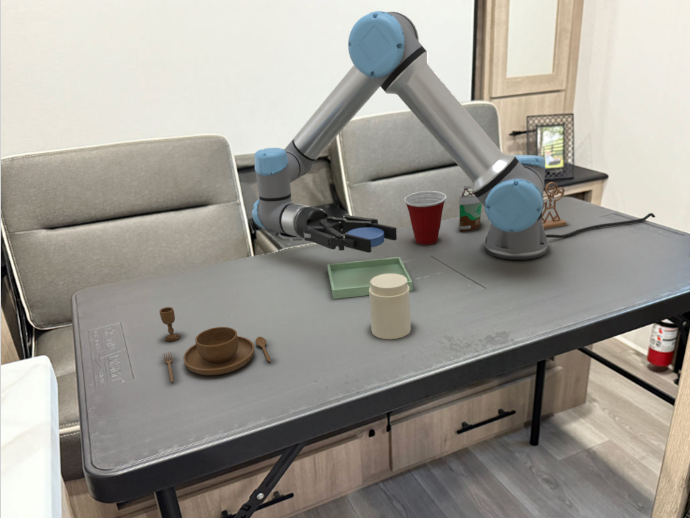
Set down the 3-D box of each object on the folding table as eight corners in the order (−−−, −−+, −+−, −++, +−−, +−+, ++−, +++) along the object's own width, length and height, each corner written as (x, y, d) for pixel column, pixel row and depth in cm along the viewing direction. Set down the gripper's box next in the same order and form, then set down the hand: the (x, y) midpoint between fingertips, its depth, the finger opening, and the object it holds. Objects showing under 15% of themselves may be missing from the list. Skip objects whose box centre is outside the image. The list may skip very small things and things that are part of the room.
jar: (406, 318, 117) (405, 270, 113) (414, 336, 110) (413, 286, 106) (369, 323, 116) (365, 274, 112) (374, 341, 109) (371, 290, 105)
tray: (400, 265, 142) (399, 256, 141) (412, 290, 129) (412, 281, 128) (328, 272, 140) (327, 264, 139) (333, 299, 126) (332, 290, 126)
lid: (339, 244, 129) (338, 236, 129) (360, 233, 136) (359, 225, 135) (371, 250, 125) (370, 241, 125) (391, 238, 132) (391, 230, 131)
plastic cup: (396, 242, 157) (394, 197, 152) (423, 231, 164) (422, 188, 159) (428, 251, 150) (427, 204, 145) (455, 240, 157) (455, 194, 152)
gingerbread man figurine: (538, 230, 162) (541, 186, 156) (530, 226, 165) (533, 182, 160) (566, 225, 164) (570, 181, 159) (558, 221, 168) (561, 178, 163)
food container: (482, 234, 160) (483, 197, 156) (459, 233, 161) (459, 197, 157) (485, 220, 171) (486, 185, 167) (463, 219, 172) (464, 185, 168)
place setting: (169, 390, 97) (161, 358, 95) (161, 337, 114) (154, 309, 111) (276, 364, 103) (272, 334, 101) (253, 317, 120) (249, 290, 117)
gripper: (337, 225, 149) (412, 242, 136) (274, 251, 134) (351, 272, 121) (335, 196, 146) (411, 210, 133) (270, 218, 131) (349, 237, 118)
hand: (382, 239), depth 127 cm, fingers closed on lid, 8 cm apart
